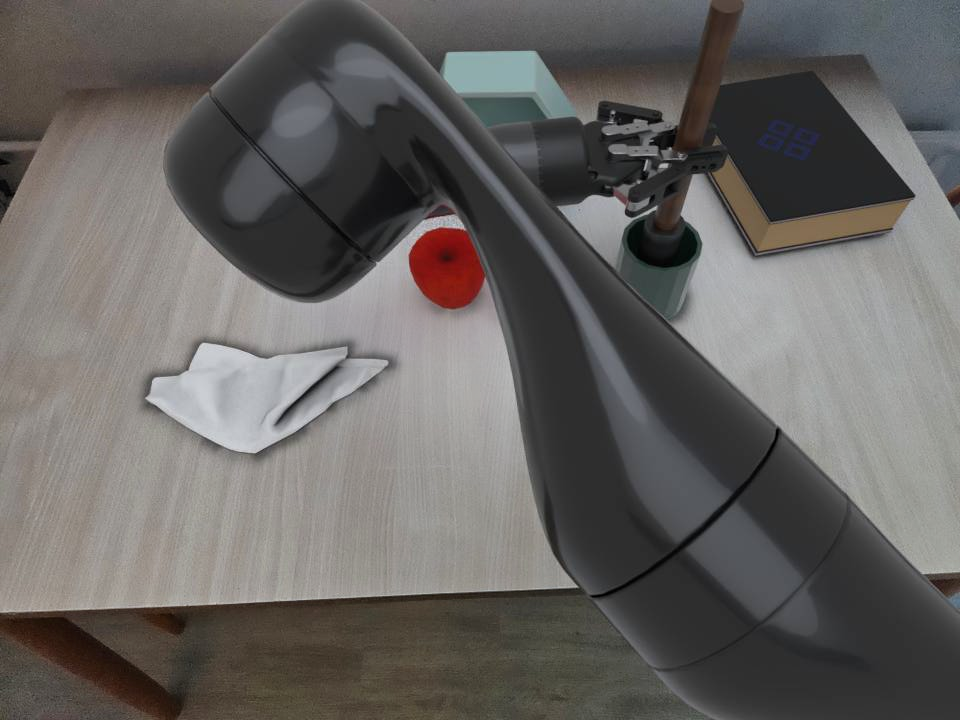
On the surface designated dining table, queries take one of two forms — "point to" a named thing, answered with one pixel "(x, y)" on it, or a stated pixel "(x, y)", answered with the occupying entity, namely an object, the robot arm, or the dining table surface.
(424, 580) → the dining table surface
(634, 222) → the green faceted cup
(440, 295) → the apple
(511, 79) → the planter
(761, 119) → the book
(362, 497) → the dining table surface
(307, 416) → the cloth
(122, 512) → the dining table surface
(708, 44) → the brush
